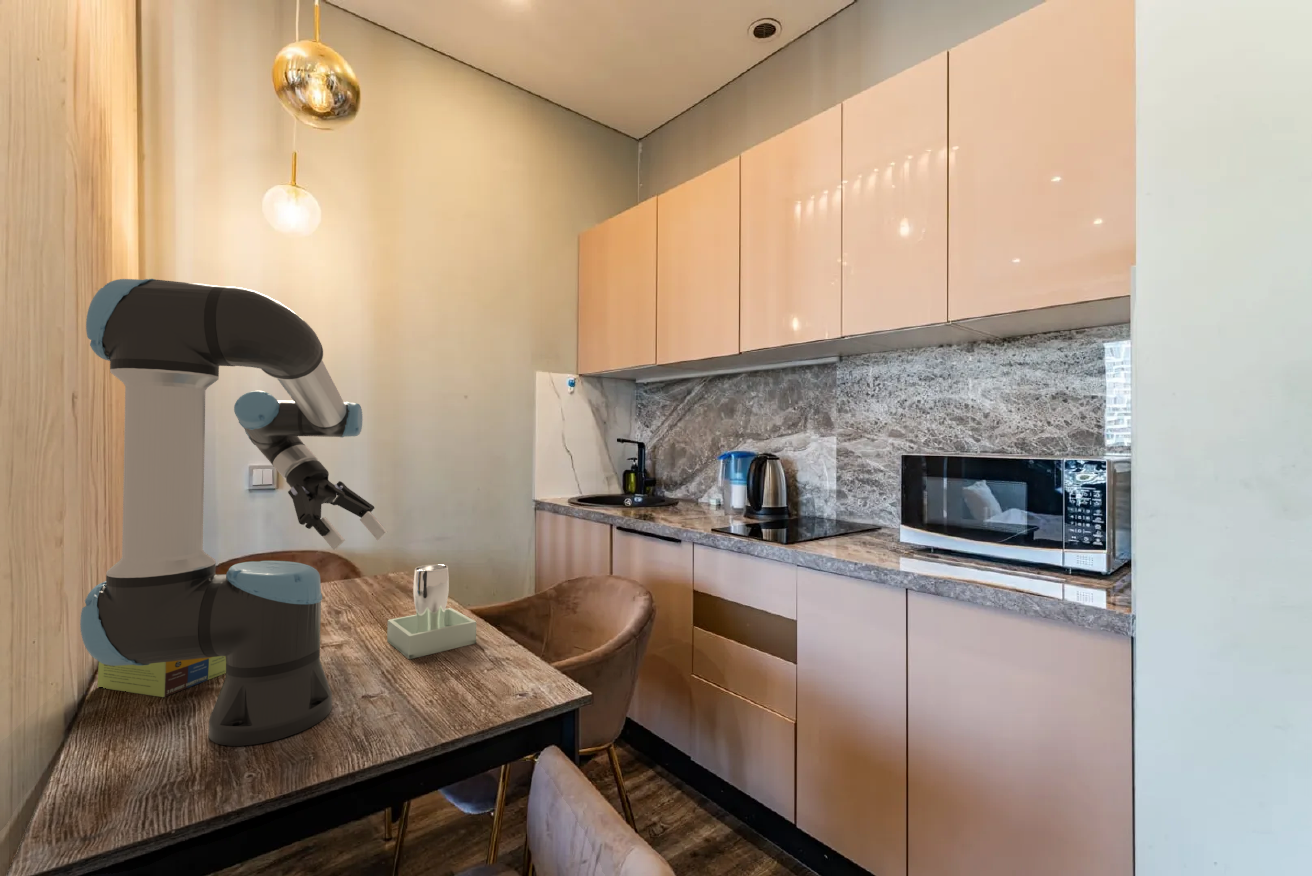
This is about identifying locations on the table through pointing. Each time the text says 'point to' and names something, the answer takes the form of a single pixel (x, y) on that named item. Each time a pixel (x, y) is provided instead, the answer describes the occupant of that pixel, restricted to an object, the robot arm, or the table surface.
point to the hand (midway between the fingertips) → (362, 540)
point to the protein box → (160, 675)
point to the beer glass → (430, 596)
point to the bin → (431, 634)
